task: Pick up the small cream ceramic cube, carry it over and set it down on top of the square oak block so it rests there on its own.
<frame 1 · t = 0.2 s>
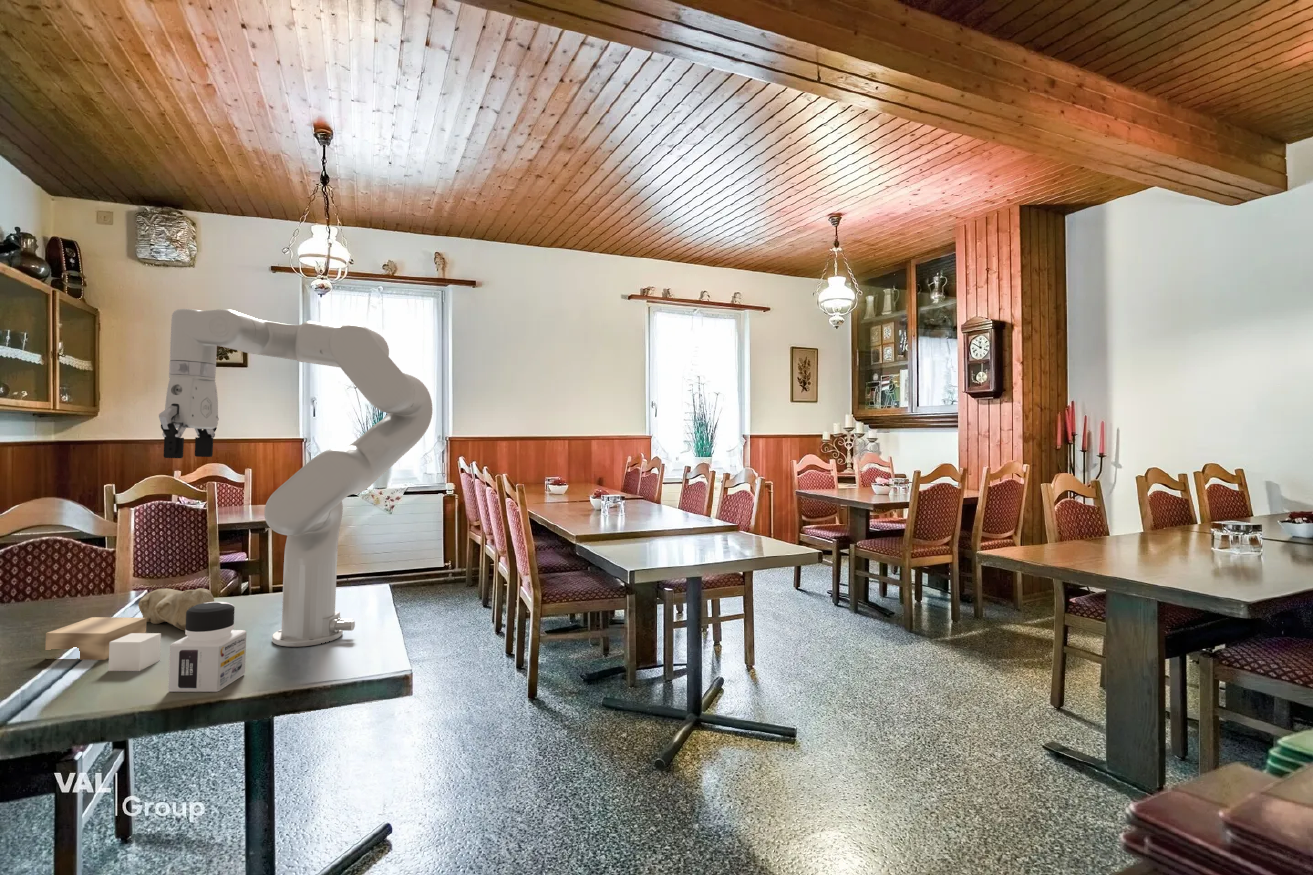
hand: (189, 457, 126), 36 cm above the table, fingers open, 9 cm apart
container: (207, 684, 104), on the table
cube: (134, 666, 110), on the table
oak block: (97, 651, 117), on the table
sculpture: (174, 626, 133), on the table
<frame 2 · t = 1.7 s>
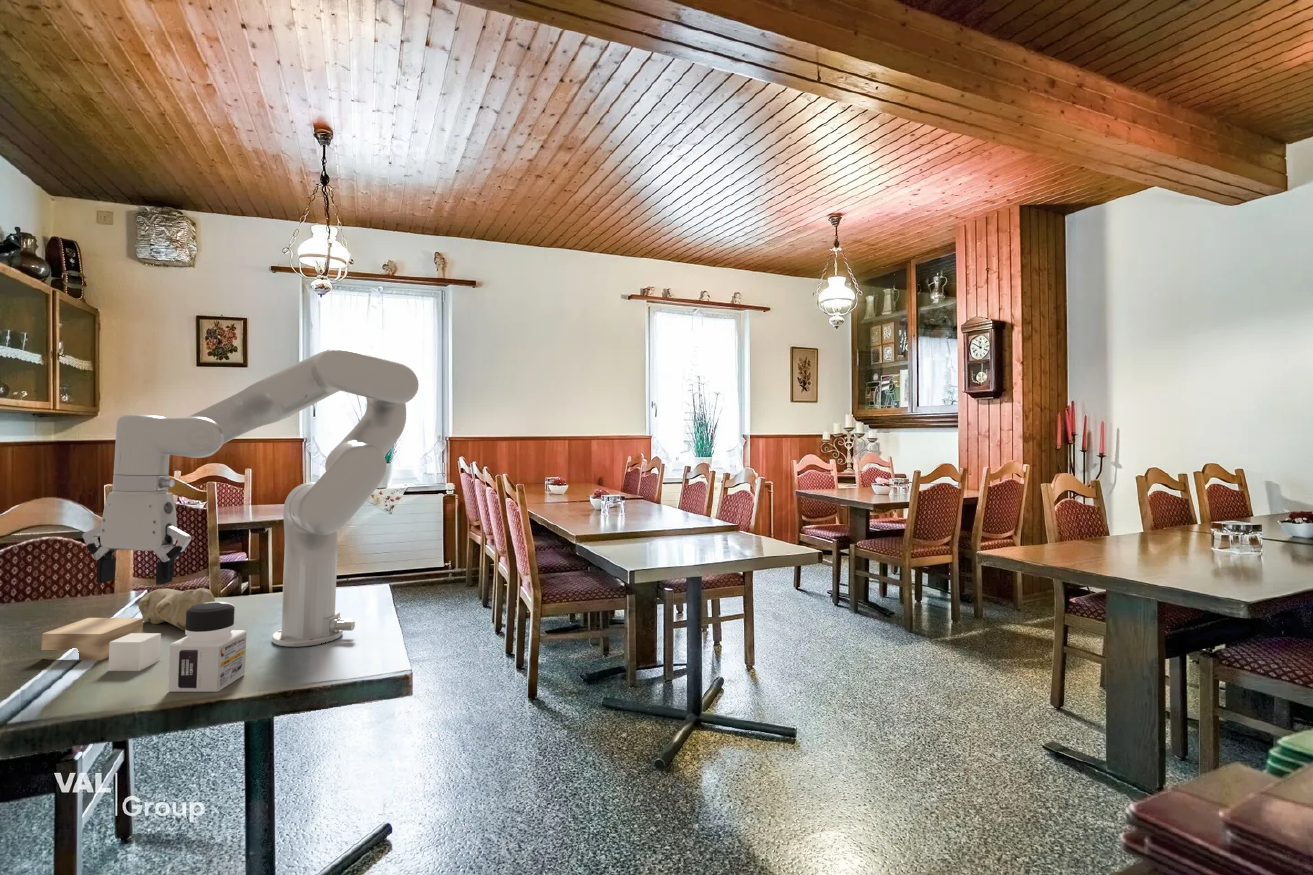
hand: (134, 582, 110), 15 cm above the table, fingers open, 9 cm apart
nothing on the table moved.
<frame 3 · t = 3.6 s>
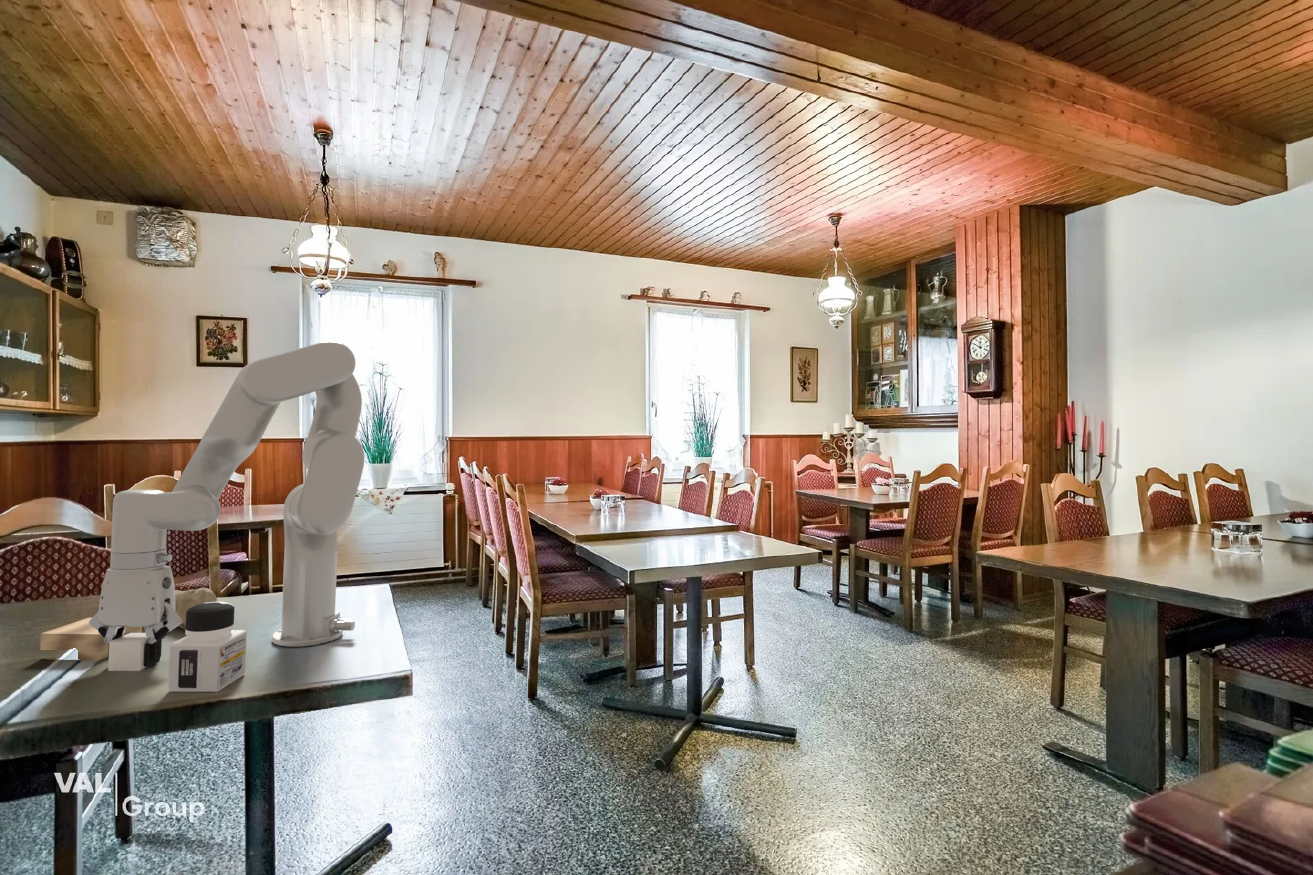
hand: (134, 662, 110), 0 cm above the table, fingers closed on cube, 5 cm apart
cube: (134, 665, 110), on the table, touching gripper
everything else where it was.
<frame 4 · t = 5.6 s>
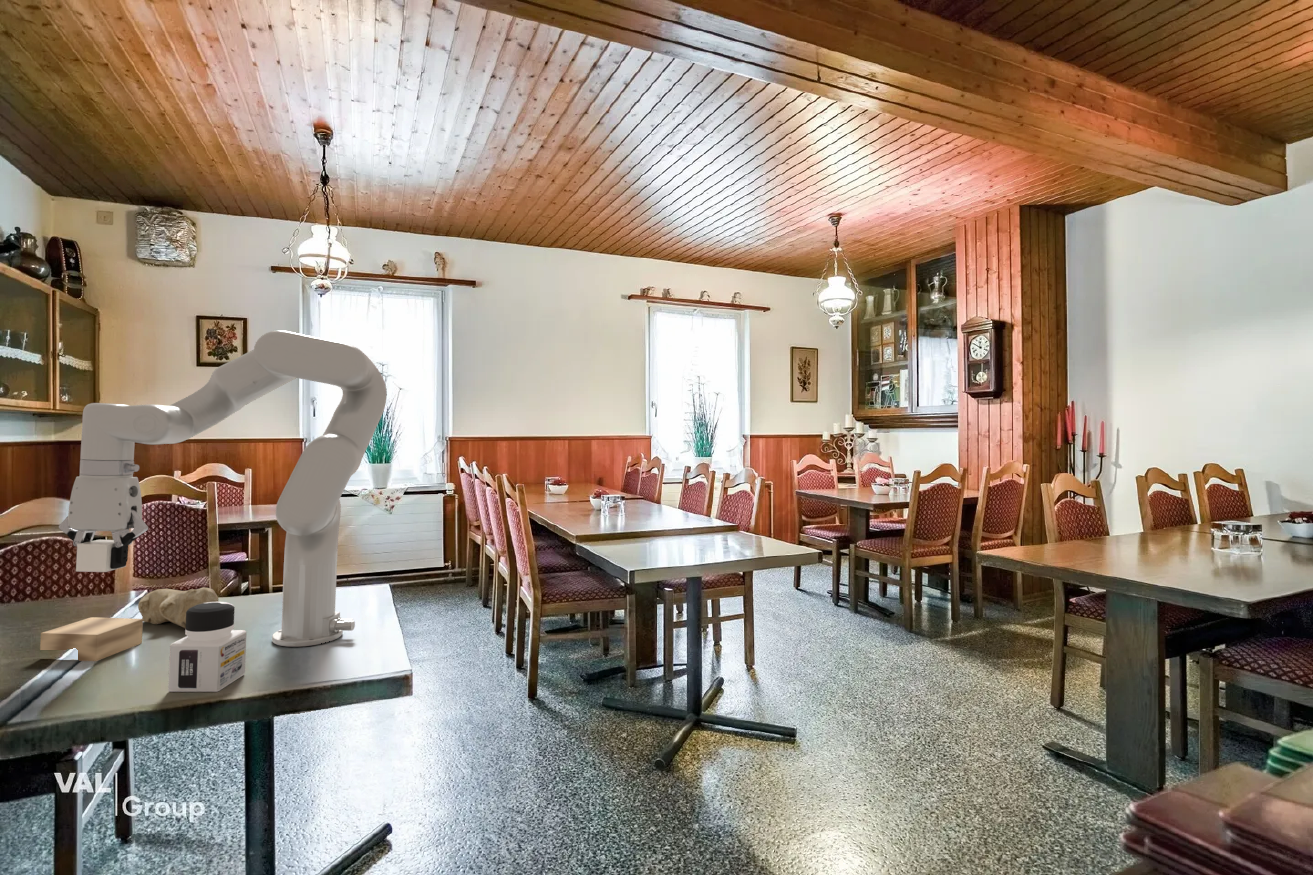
hand: (101, 566, 117), 16 cm above the table, fingers closed on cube, 5 cm apart
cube: (101, 568, 117), point 15 cm above the table, touching gripper
everything else where it was.
when the fingers open (7 cm above the table, at t = 7.6 s): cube drops 2 cm, point 5 cm above the table.
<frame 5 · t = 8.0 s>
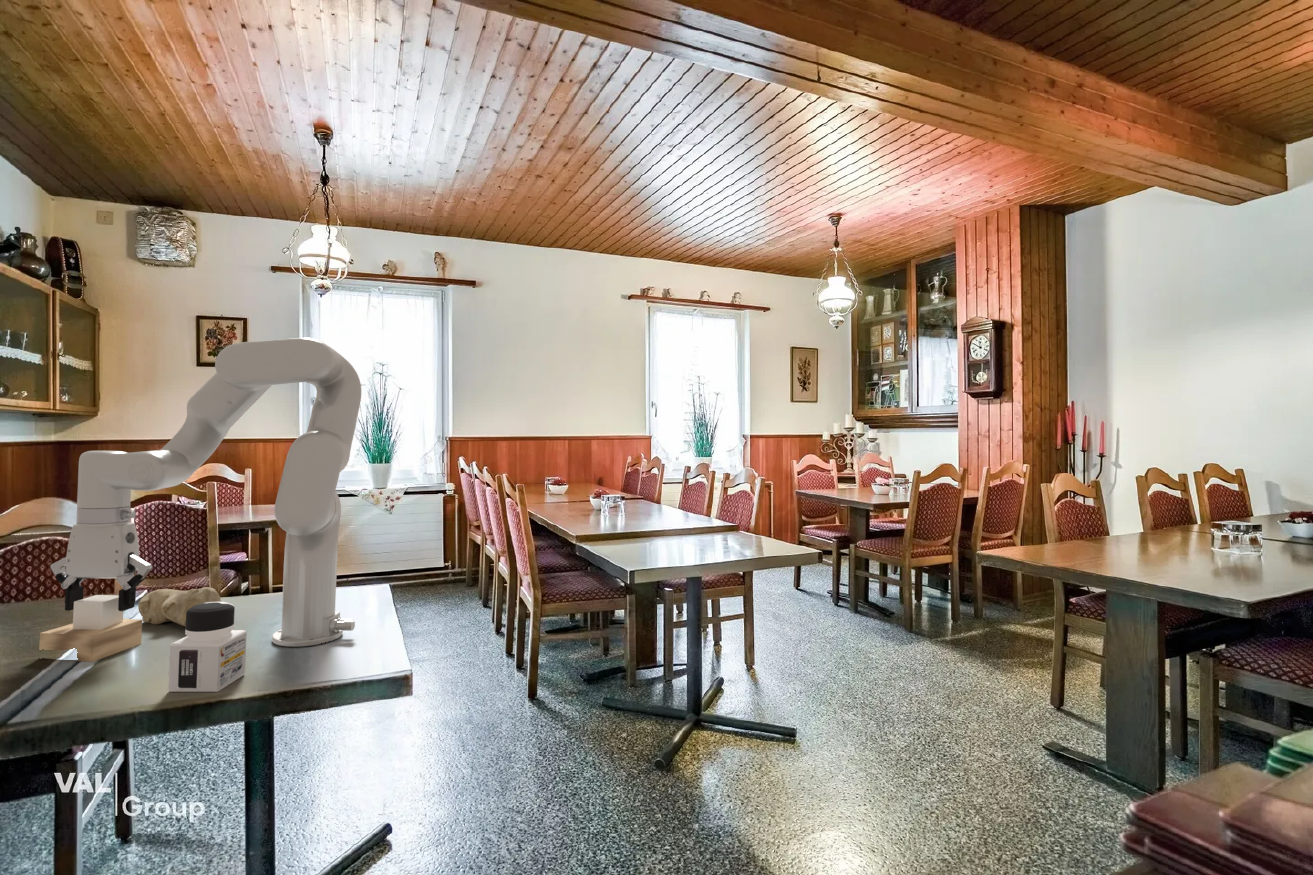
hand: (100, 608, 117), 8 cm above the table, fingers open, 8 cm apart
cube: (98, 625, 117), point 5 cm above the table
everything else where it was.
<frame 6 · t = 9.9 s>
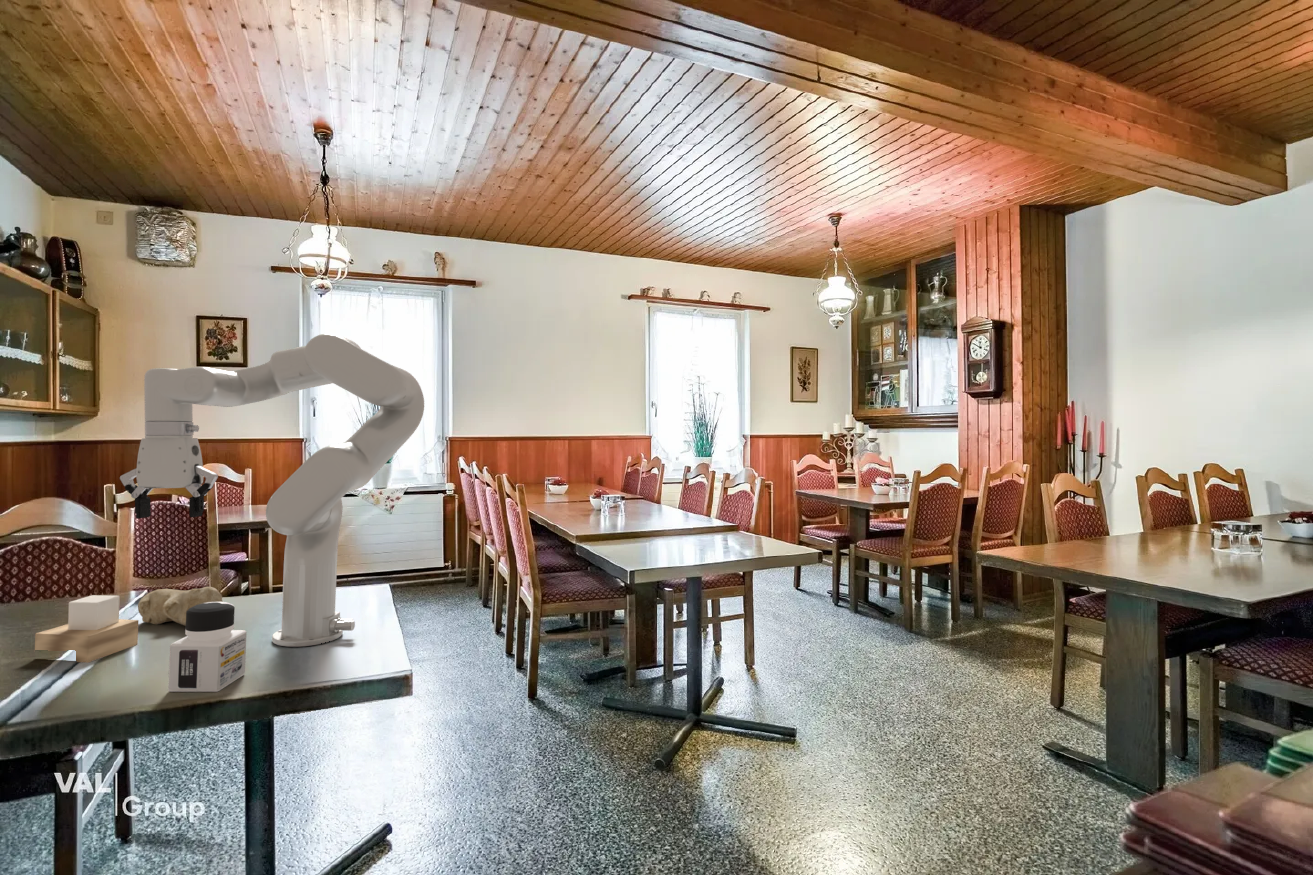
hand: (169, 517, 125), 24 cm above the table, fingers open, 9 cm apart
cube: (93, 625, 117), point 5 cm above the table, touching oak block
oak block: (88, 653, 116), on the table, touching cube
everything else where it was.
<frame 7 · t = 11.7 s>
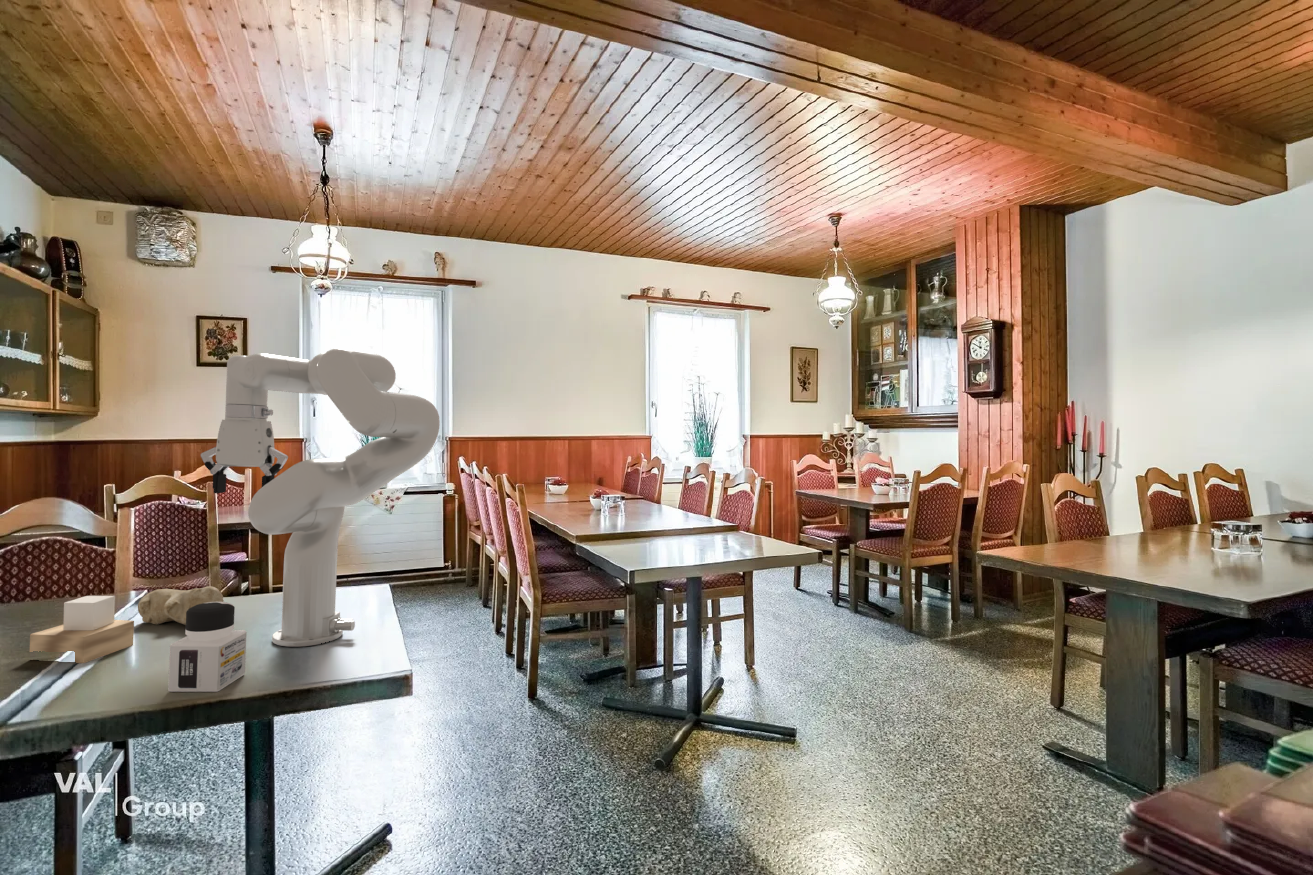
hand: (243, 493, 135), 28 cm above the table, fingers open, 9 cm apart
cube: (89, 626, 116), point 5 cm above the table
oak block: (83, 654, 116), on the table
at the end: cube inside the target area on the oak block (0.7 cm from its centre), point 5.0 cm above the oak block's base; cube tilted 0°; the gripper is holding nothing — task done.
